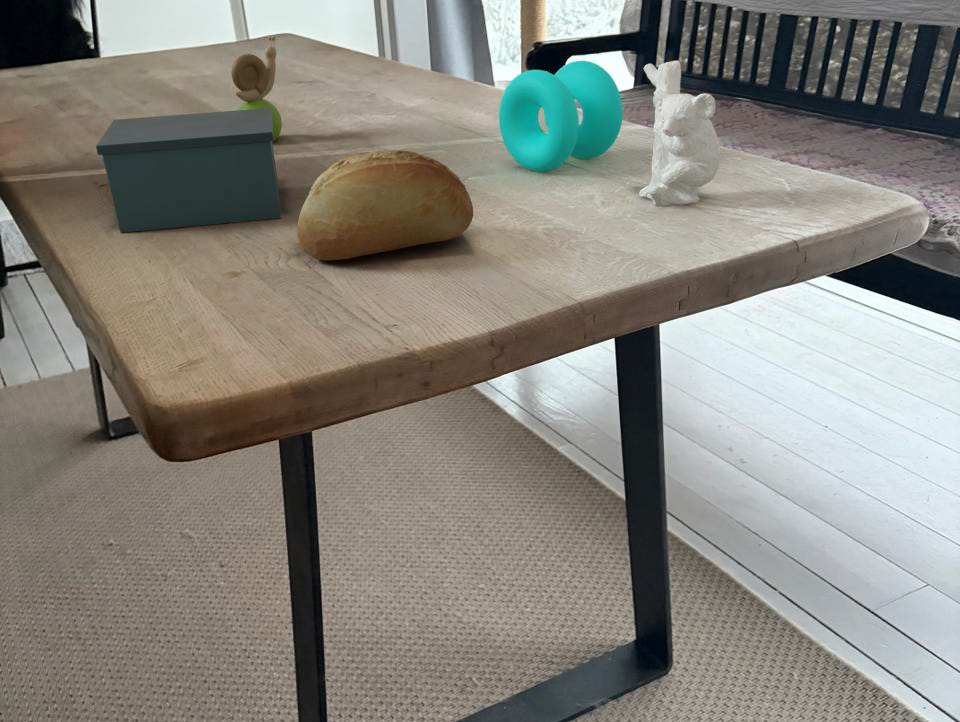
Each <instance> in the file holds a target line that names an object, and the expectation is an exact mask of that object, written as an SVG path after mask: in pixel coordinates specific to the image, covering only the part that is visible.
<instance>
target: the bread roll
mask: <svg viewBox="0 0 960 722" xmlns="http://www.w3.org/2000/svg"><path fill="white" fill-rule="evenodd" d="M473 218H474V207H473V202H472V200H471V196H470V194H469V192H468V190H467V188H466V185H465V184H464V183H463V182H462V181H461V179H460V177H459V176H458V175H457V174H456V173H454V171H452V170H451V169H450V168H449V167H448V166H447V165H445V164H444V163H442V162H440V161H439V160H437V159H436V158H433V157H430V156H427V155H424V154H421V153H417V152H414V151H409V150H398V149H379V150H371V151H365V152H361V153H356V154H354V155H351V156H348V157H345V158H343V159H340V160H339V161H336V162H334V163H333V164H331V165H330V166H329V167H328V168H327V169H325V170H324V171H323V172H322V173H321V174H320V175H319V176H318V177H317V179H315V181H314V183H313V185H312V186H311V188H310V190H309V192H308V195H307V197H306V199H305V201H304V203H303V205H302V207H301V210H300V213H299V215H298V221H297V224H296V229H297V232H296V234H297V241H298V244H299V245H300V246H301V251H302V252H304V253H305V254H307V255H308V256H310V257H311V258H313V259H316V260H320V261H338V260H349V259H353V258H357V257H362V256H369V255H373V254H378V253H384V252H390V251H394V250H400V249H404V248H410V247H415V246H418V245H424V244H425V245H426V244H431V243H436V242H437V243H439V242H444V241H445V242H446V241H449V240H452V239H455V238H457V237H459V236H462V234H463V233H465V231H467V229H468V228H470V226H471V223H472V222H473Z"/></svg>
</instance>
